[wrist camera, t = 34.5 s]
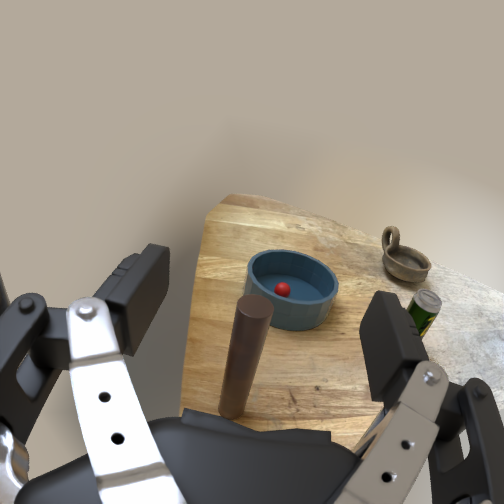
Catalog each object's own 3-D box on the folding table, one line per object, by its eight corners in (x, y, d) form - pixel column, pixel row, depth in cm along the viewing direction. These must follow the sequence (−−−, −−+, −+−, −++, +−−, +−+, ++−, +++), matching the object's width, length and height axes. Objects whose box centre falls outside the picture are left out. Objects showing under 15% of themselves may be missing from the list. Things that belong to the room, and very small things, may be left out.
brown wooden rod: (214, 414, 34) (231, 310, 25) (223, 395, 36) (243, 289, 27) (238, 423, 33) (268, 322, 24) (246, 403, 36) (277, 300, 27)
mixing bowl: (229, 312, 51) (234, 284, 48) (256, 265, 65) (261, 241, 62) (323, 341, 48) (335, 315, 45) (331, 288, 62) (340, 264, 59)
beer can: (382, 349, 48) (413, 296, 42) (391, 334, 52) (419, 283, 46) (407, 364, 45) (440, 312, 39) (414, 347, 49) (444, 298, 43)
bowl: (400, 295, 64) (418, 258, 59) (359, 255, 78) (371, 222, 73) (432, 288, 69) (447, 256, 64) (392, 253, 83) (404, 223, 78)
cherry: (295, 294, 55) (282, 301, 57) (289, 280, 57) (276, 287, 58) (288, 293, 53) (274, 300, 54) (282, 278, 54) (268, 286, 55)
